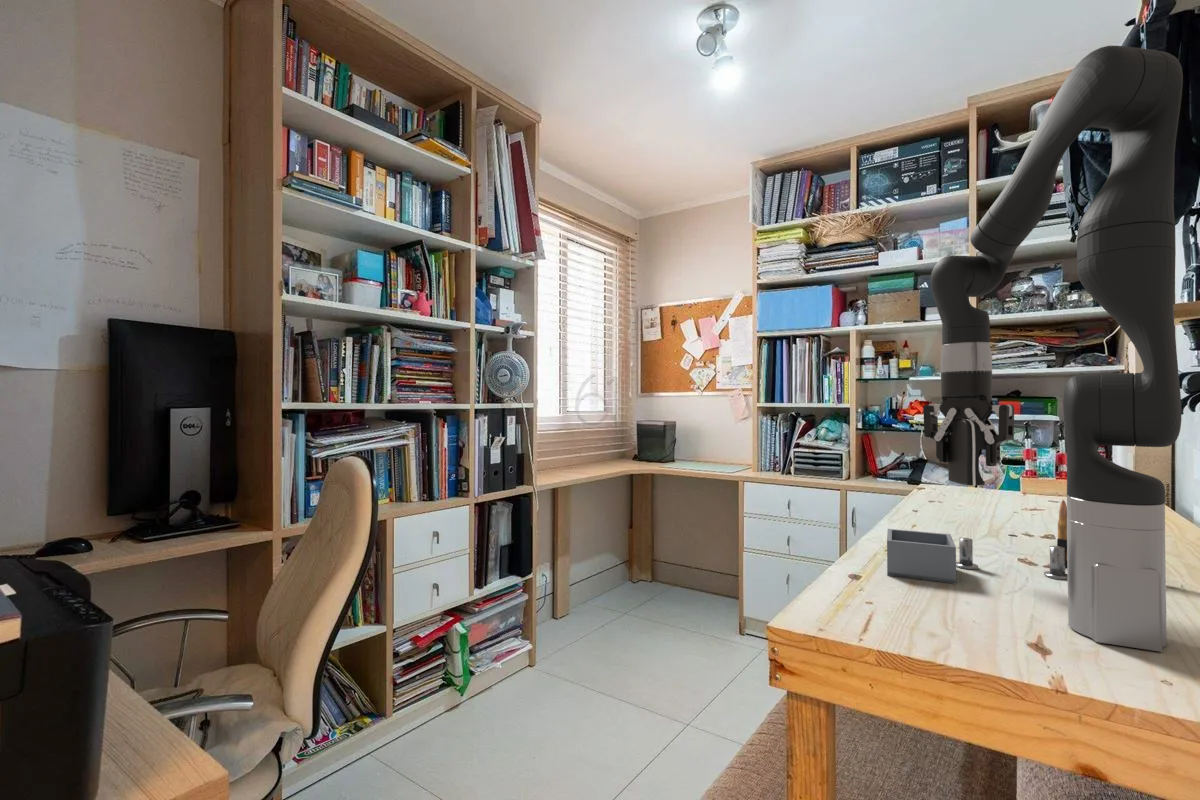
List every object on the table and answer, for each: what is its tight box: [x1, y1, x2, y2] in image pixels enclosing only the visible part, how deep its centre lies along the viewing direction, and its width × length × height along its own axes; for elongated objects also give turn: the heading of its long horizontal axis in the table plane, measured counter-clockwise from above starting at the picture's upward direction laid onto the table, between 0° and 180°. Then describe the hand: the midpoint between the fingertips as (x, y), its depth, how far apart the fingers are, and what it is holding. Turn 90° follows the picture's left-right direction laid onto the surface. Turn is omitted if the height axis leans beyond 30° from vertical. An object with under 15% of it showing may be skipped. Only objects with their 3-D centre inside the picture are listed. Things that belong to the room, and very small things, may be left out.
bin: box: [886, 528, 957, 584], centre depth 98 cm, size 10×10×6 cm
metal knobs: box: [956, 537, 1068, 581], centre depth 97 cm, size 4×17×5 cm, turn 62°
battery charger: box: [947, 419, 988, 487], centre depth 97 cm, size 7×4×11 cm, turn 175°
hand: (966, 463), depth 98 cm, fingers closed on battery charger, 7 cm apart
